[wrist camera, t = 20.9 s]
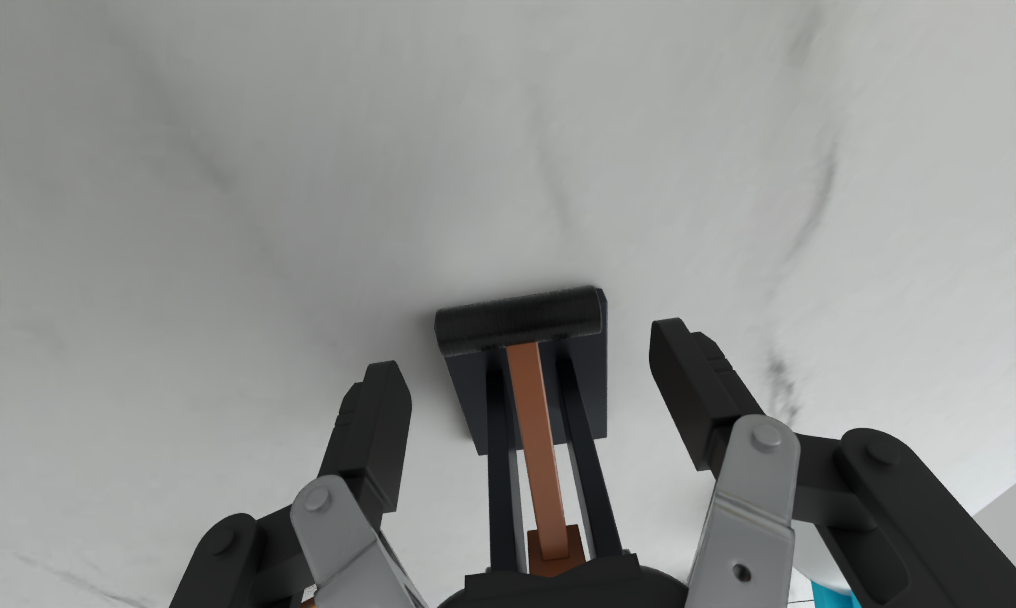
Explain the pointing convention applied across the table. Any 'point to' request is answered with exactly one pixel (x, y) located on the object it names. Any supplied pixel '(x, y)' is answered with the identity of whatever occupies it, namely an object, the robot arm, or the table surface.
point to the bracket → (573, 419)
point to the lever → (530, 396)
